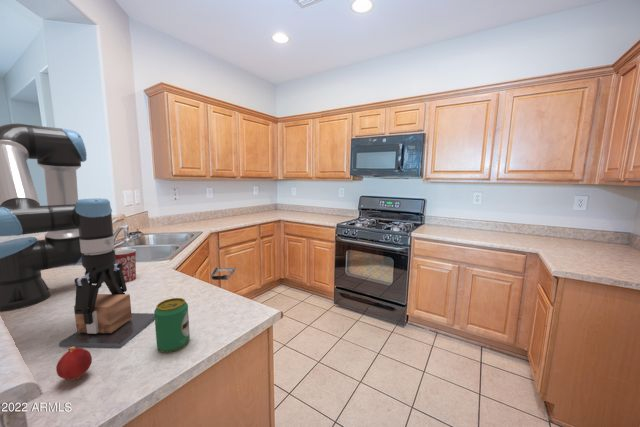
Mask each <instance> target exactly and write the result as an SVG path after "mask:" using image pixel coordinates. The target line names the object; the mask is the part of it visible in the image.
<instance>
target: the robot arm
mask: <svg viewBox="0 0 640 427" xmlns="http://www.w3.org/2000/svg"><path fill="white" fill-rule="evenodd" d="M28 159H29V160H36V161H37V162H36V163H37V165H38V166H40V167H41V168H42V169H43V171H44V182H45V190H46V193H45V194H46V202H47V205H41V204H40V200H39V198H38V194H37V191H36V187H35V185H34V181H33V177H32V175H31V174H32V173H31V171H30V169H29V165H28V161H27V160H28ZM86 161H87V149H86V145H85V143H84V140H83V138H82V136H81V135H80V133H79V132H78V131H75V130H72V129H66V128H60V127H50V126H40V125H33V124H24V123H9V124H7V123H6V124H3V125H1V126H0V237H12V236H13V237H15V236H17V237H18V236H21V235H23V236H24V235H29V234H30V235H32V234H39V233H40V234H41V233H45V234H44V239H38V238H36V237H35V236H28V237H20V238H15V239H9V240H5V241H1V242H0V312H6V311H7V312H8V311H13V310H17V309H22V308H26V307H29V306H33V305H35V304H38V303H40V302H43V301H45V300H48V298H50V297H51V290H50V288H49V287H48V285H47V284H46V282H45V280H44V279H43V277H42V271H45V270H50V269H57V268H62V267H67V266H74V265H77V264H81V265H82V267H83V268H84V270H85V271H84V275H83V276H81V277H76V278H75V279H74V285H75V303H74V306H75V311H74V315H75V314H83V316H84V323H85V324H86V327H87V333H89V334H97V333H98V332H99V329H98V320H97V311H94V307H95V303H96V299H97V295H98V294H99V291H100V290H99V289H100V288H102V285H103V283H104V284H105V286H106V287H107V288H108V289H107V290H109V292H110V294H126V292H127V291H128V289H127V284H126V282H125V280H124V276H123V272H122V264H113V263H115V261H116V257H115V251H116V250H114V249H115V239H114V231H113V230H114V228H113V215H112V212H113V210H112V207H111V202H110V200H109V199H108V198H80V199H79V193H78V192H79V190H78V177H77V170H79V169H80V168H81V167H82V163H84V162H86ZM88 308H89V309H88Z"/></svg>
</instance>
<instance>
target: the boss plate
mask: <svg viewBox="0 0 640 427" xmlns="http://www.w3.org/2000/svg"><path fill="white" fill-rule="evenodd" d="M131 314H132V319H130V320H129V321H128V322H126V323H125V324H123V325H122V326H121V327H119V328H118V329H116V330H115V331H114V332H112V333H97V334H89V333H79V332H77V331H75V332H74V333H72V334H70V335H69V336H68V337H66V338H64V339H62V340H60V341H59V342H58V347H59V346H72V347H76V348H113V349H114V348H115V349H116V348H117V349H119V348H120V349H121V348H122V347H124V346H125V345H126V344H127V343H129V342H130V340H133V339H134V338H135V337H136V336H137V335H138V334H140V333H141V332H142V331H143V330H144V329H146V328H147V327H148V326H149V325H150V324H151V323H153V322H155V315H154V312H153V313H143V312H142V313H140V312H139V313H138V312H135V313H134V312H131Z"/></svg>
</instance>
